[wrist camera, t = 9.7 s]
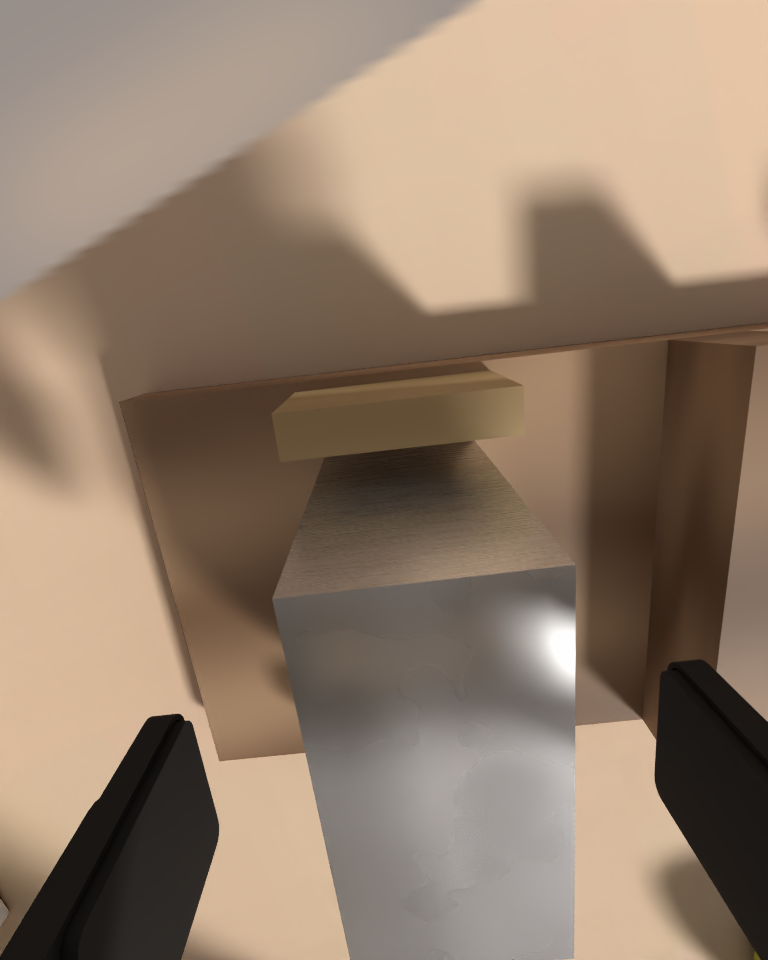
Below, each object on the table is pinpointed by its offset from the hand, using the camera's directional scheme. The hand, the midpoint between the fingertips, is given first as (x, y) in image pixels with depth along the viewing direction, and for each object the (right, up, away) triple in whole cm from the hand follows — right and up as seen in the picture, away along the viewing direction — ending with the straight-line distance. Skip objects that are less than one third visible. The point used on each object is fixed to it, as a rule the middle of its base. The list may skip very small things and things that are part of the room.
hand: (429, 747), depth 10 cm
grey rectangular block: (0, +2, +5) cm, 5 cm away
